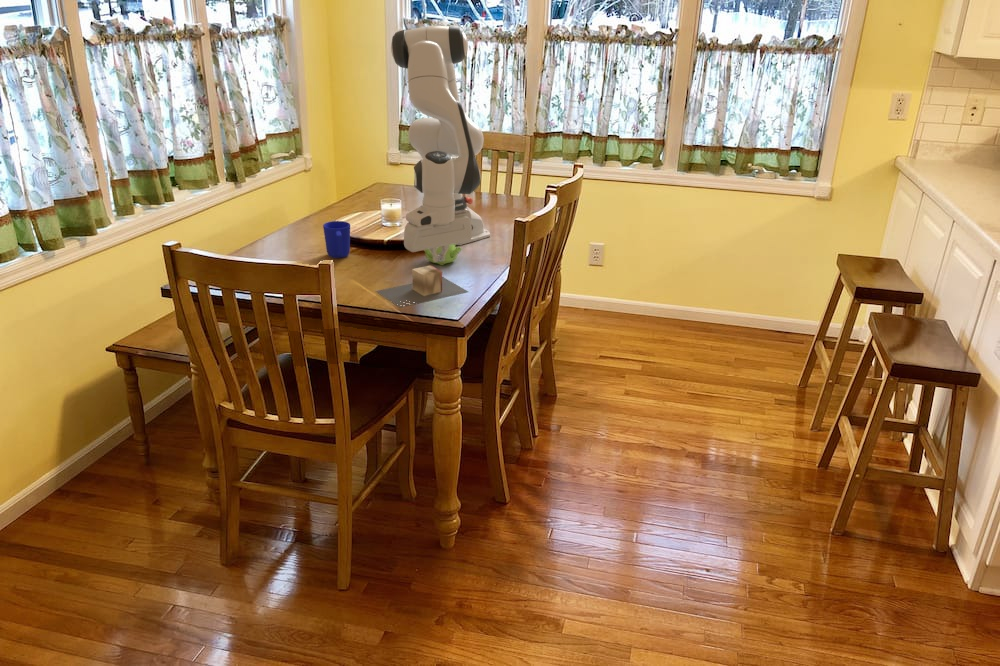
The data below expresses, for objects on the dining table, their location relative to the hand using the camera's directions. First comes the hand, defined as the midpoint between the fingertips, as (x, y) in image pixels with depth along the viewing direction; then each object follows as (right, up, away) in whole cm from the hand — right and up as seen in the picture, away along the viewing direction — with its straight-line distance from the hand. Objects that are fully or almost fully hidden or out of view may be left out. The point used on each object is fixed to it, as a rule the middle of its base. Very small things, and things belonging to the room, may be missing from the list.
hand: (439, 261), depth 224 cm
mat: (-5, -9, 0) cm, 10 cm away
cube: (-1, -5, +1) cm, 5 cm away
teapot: (0, +1, +23) cm, 23 cm away
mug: (-33, +3, +25) cm, 42 cm away
